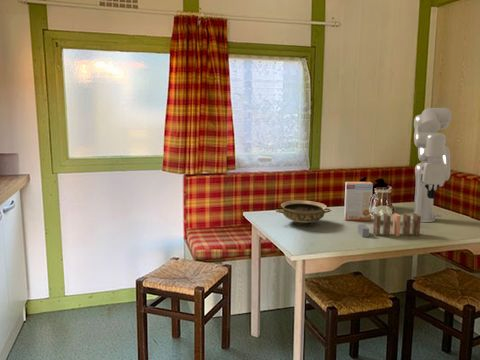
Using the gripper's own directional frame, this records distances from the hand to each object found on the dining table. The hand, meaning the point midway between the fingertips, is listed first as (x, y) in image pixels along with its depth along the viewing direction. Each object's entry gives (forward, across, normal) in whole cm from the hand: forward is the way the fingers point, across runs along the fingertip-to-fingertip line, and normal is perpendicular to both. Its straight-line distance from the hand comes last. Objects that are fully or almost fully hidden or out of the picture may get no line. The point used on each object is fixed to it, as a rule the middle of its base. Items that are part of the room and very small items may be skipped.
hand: (430, 198), depth 214 cm
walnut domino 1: (+18, -25, 0) cm, 31 cm away
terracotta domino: (+18, -16, 0) cm, 24 cm away
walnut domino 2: (+18, -20, 0) cm, 27 cm away
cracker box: (+18, -27, +28) cm, 43 cm away
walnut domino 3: (+18, -11, 0) cm, 21 cm away
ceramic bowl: (+18, -58, +20) cm, 64 cm away
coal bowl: (+18, -11, +54) cm, 57 cm away
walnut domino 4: (+18, -6, 0) cm, 19 cm away
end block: (+18, -31, 0) cm, 36 cm away
